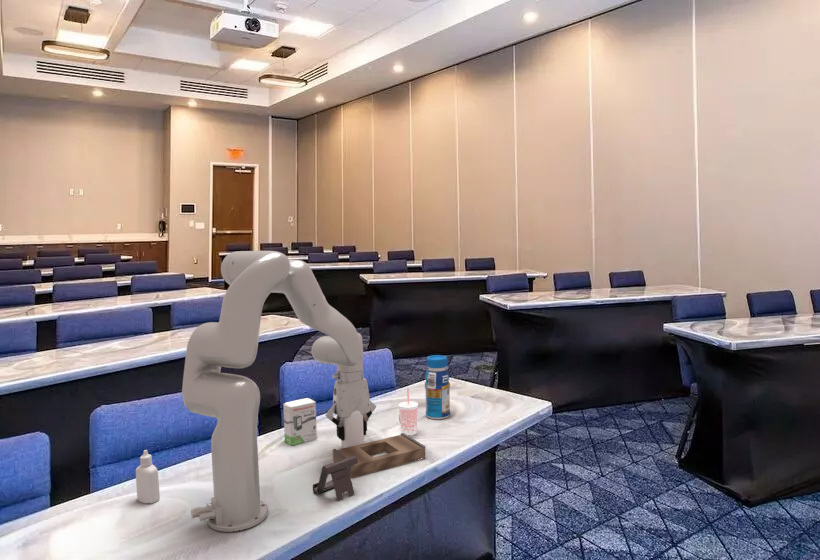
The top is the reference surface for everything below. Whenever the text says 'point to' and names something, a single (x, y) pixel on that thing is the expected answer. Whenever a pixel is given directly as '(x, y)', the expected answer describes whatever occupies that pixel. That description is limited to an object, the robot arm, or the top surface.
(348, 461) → the portable electronic device stand
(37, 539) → the top surface
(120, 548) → the top surface
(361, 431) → the can
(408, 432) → the beverage cup
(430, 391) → the beverage bottle
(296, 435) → the ink box
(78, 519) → the top surface
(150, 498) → the eye dropper bottle
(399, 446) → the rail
